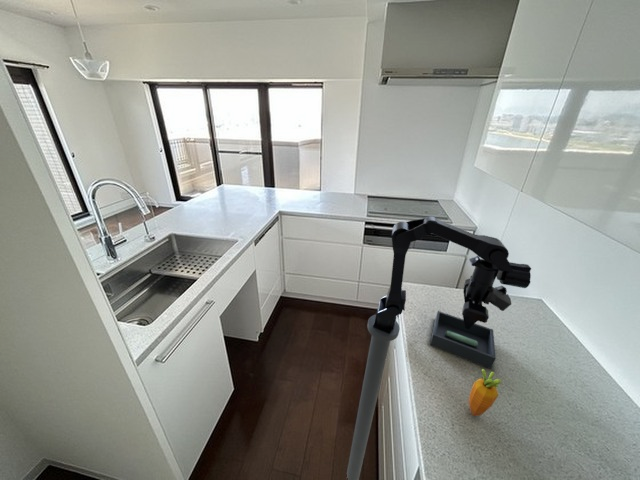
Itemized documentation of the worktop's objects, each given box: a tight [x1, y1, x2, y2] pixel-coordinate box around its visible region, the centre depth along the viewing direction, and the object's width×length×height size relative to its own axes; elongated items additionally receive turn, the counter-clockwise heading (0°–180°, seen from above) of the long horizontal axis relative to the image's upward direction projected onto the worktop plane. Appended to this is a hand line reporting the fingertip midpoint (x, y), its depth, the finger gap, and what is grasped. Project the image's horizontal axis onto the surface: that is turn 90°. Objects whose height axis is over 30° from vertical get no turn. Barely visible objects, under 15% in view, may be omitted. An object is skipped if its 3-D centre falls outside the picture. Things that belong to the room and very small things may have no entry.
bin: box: [429, 310, 497, 370], centre depth 86 cm, size 18×14×5 cm
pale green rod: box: [445, 331, 478, 347], centre depth 86 cm, size 10×2×2 cm, turn 61°
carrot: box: [468, 368, 502, 417], centre depth 62 cm, size 5×5×15 cm
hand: (467, 319), depth 83 cm, fingers open, 9 cm apart
